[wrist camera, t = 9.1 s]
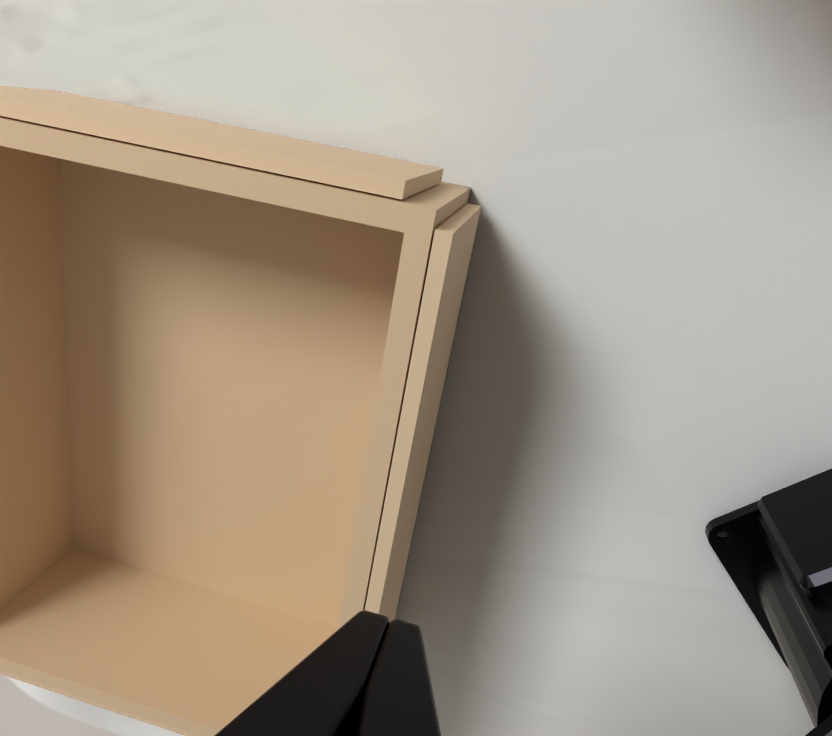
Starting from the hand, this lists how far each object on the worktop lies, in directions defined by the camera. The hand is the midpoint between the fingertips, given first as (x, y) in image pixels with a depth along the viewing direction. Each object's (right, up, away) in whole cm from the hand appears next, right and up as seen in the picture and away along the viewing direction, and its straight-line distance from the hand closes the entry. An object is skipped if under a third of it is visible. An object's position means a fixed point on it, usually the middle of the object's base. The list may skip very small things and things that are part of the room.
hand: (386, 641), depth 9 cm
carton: (-6, +3, +15) cm, 16 cm away
